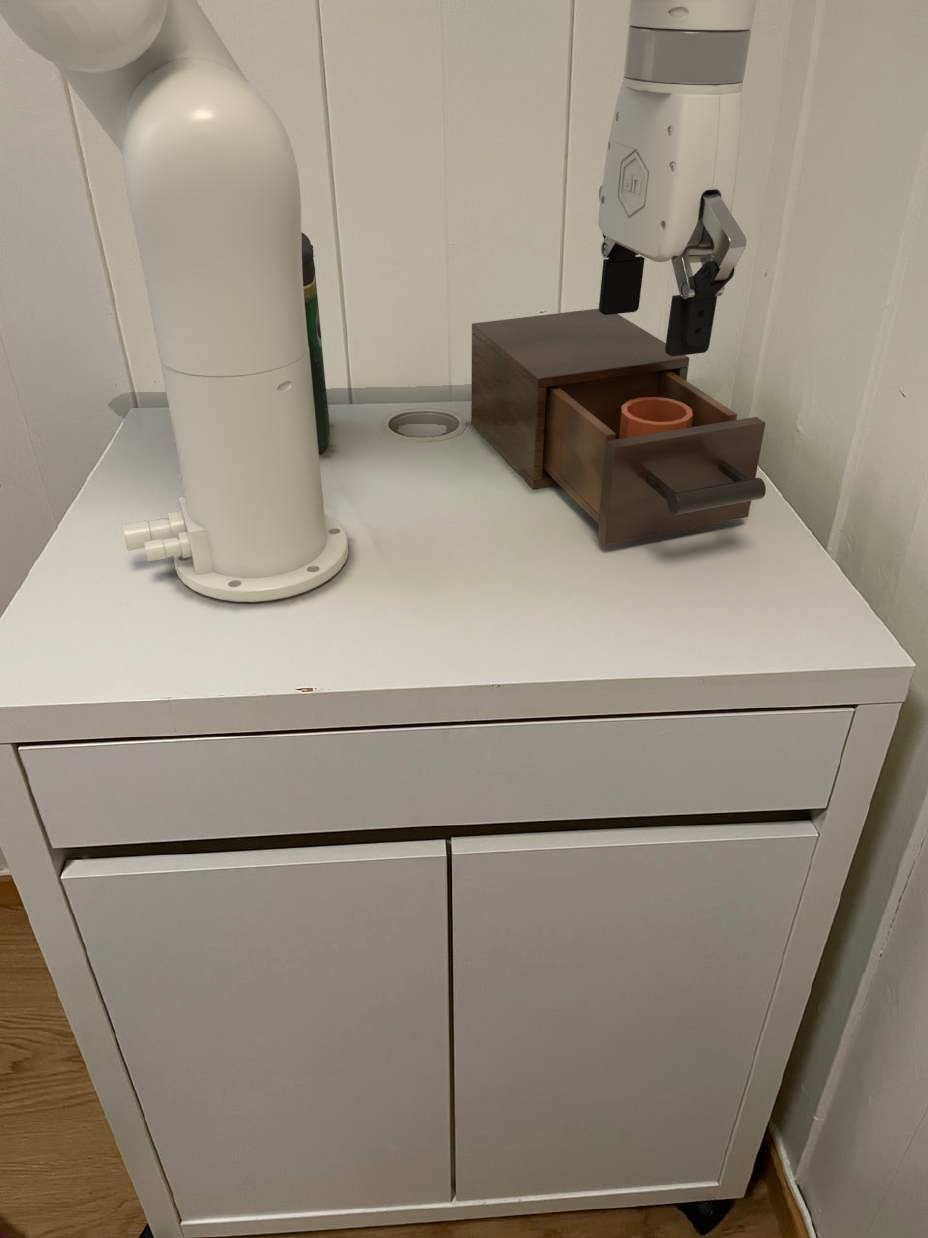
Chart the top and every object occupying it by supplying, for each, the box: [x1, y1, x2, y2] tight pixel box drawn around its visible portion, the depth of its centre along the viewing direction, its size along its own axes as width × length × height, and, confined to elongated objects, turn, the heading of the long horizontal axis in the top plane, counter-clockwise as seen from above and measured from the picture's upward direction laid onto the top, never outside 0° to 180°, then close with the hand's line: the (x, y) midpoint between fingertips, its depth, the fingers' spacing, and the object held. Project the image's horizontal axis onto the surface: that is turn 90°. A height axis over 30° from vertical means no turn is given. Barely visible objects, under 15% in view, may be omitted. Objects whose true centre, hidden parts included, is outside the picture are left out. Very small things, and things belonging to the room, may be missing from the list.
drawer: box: [542, 370, 767, 546], centre depth 75 cm, size 18×12×8 cm
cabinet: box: [470, 308, 690, 490], centre depth 86 cm, size 15×14×10 cm
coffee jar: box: [301, 231, 331, 453], centre depth 84 cm, size 10×8×19 cm
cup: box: [618, 397, 693, 439], centre depth 77 cm, size 5×6×6 cm
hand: (650, 331), depth 71 cm, fingers open, 9 cm apart
